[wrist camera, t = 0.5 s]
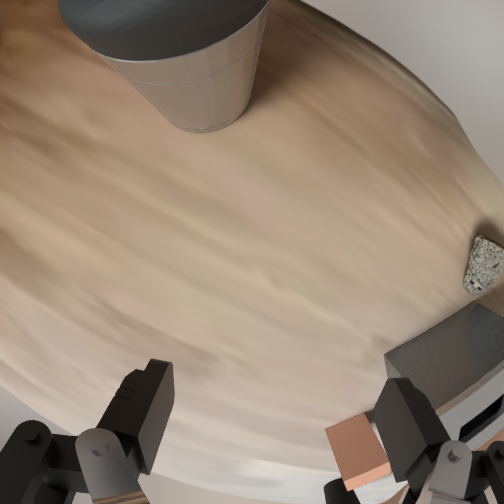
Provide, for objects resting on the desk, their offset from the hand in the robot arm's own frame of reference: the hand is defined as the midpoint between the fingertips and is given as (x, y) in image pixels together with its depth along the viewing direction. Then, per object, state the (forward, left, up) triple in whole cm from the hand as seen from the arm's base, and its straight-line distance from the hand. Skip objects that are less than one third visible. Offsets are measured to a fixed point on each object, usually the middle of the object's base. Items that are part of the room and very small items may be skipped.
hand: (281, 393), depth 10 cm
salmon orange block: (+27, +11, -20) cm, 35 cm away
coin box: (+20, +25, -20) cm, 38 cm away
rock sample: (+5, +31, -20) cm, 37 cm away
